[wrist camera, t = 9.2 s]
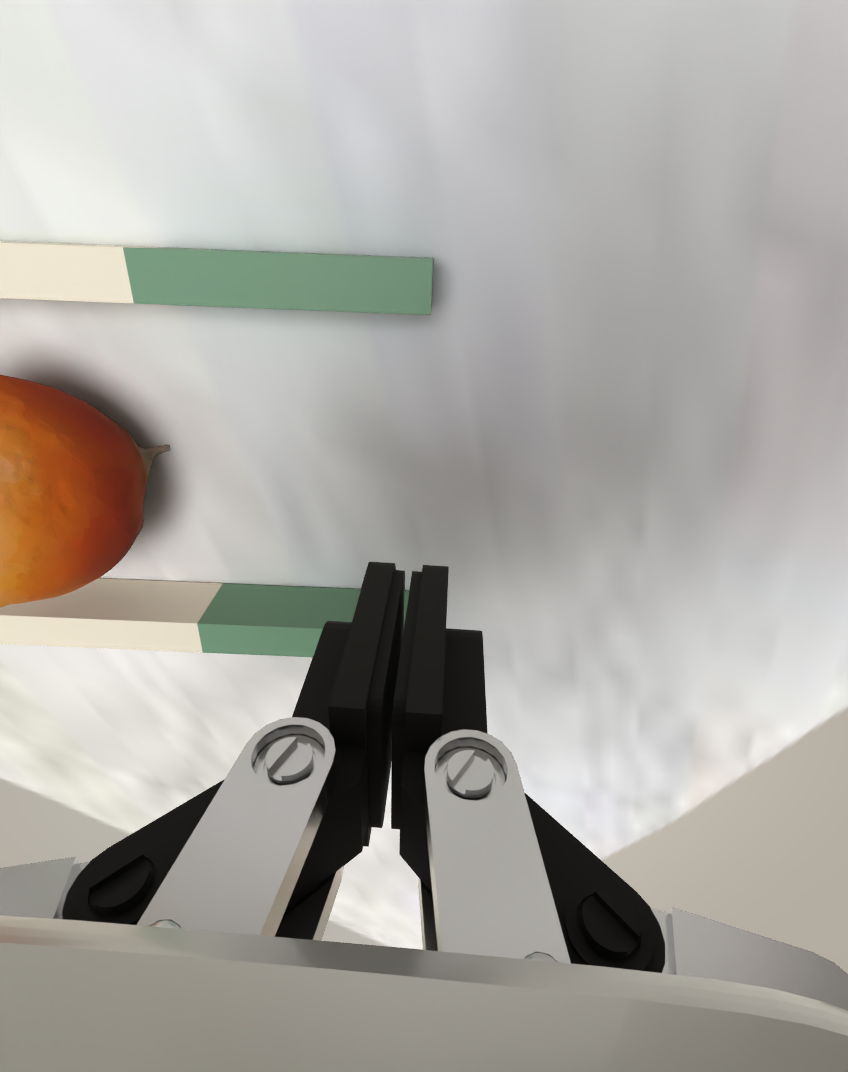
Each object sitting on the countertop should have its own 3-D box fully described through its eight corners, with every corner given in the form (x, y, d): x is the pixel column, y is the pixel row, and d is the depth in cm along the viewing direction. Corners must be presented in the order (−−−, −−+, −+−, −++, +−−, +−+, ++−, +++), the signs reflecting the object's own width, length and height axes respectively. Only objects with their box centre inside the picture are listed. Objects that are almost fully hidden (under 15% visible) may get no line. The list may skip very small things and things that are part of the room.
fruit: (192, 598, 24) (-30, 683, 17) (85, 507, 26) (-144, 549, 19) (227, 427, 20) (-36, 450, 13) (99, 342, 23) (-175, 324, 16)
